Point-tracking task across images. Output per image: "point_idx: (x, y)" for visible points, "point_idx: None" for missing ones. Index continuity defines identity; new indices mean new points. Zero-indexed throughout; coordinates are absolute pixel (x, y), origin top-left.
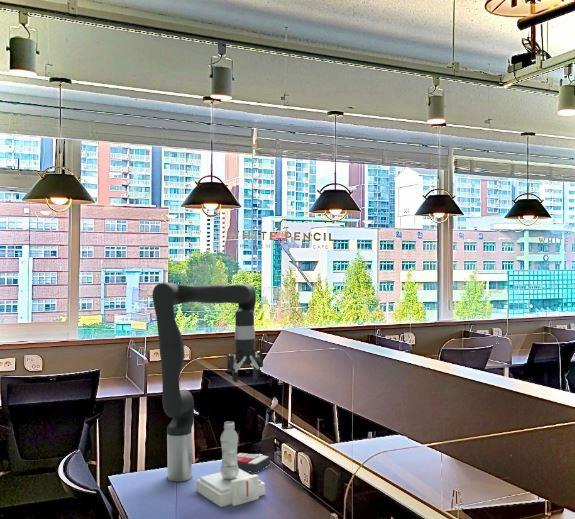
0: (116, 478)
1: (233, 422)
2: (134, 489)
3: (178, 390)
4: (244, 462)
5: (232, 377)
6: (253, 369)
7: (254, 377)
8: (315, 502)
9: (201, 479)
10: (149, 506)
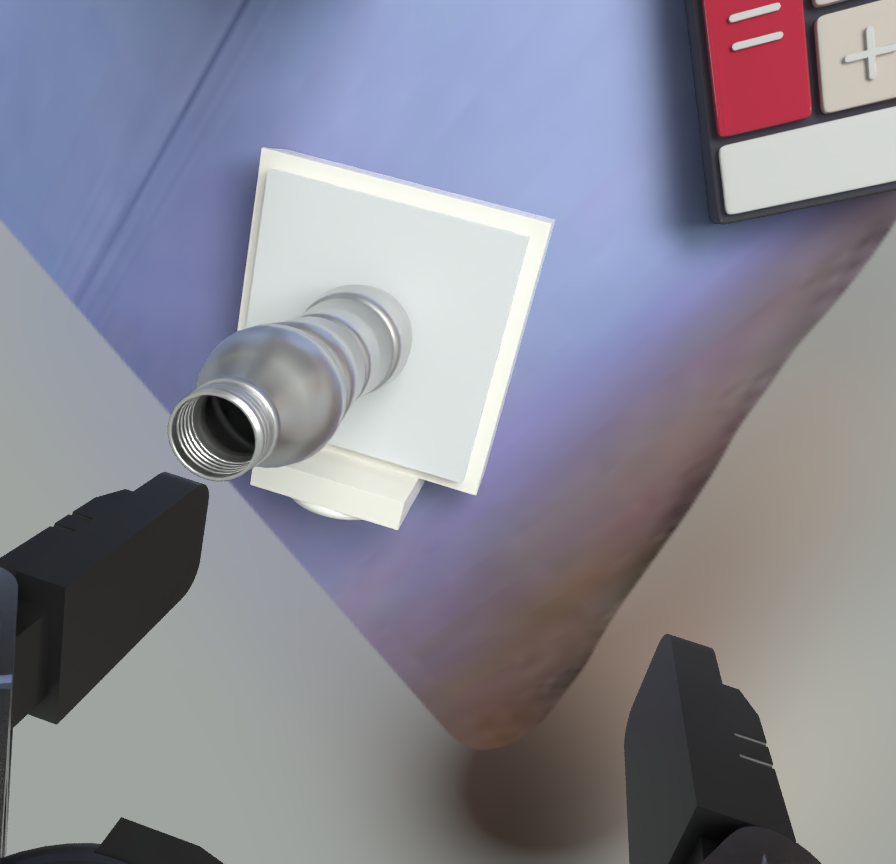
0: None
1: (255, 452)
2: None
3: None
4: (716, 115)
5: (65, 524)
6: (681, 831)
7: (649, 702)
8: (553, 693)
9: (268, 188)
10: (23, 125)
